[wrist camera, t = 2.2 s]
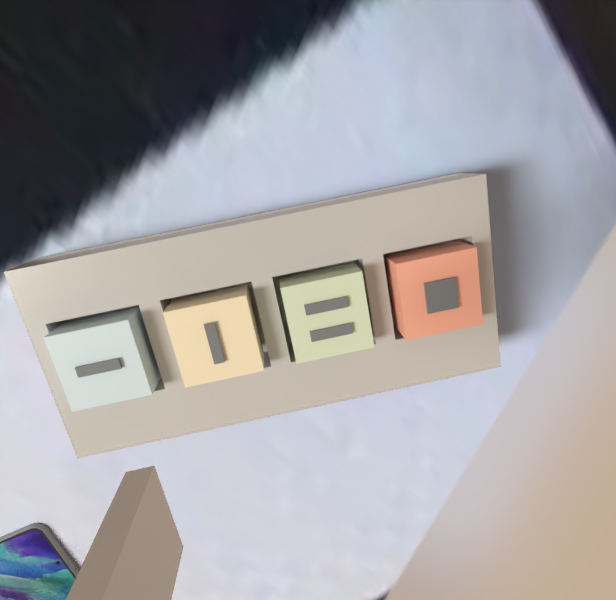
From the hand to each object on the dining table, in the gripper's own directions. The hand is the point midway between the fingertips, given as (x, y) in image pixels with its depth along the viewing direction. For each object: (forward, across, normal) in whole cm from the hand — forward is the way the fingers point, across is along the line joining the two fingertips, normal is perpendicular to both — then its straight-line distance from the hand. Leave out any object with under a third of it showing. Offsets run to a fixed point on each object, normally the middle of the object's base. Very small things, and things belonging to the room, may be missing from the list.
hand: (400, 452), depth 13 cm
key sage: (+16, 0, -1) cm, 16 cm away
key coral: (+16, +6, -1) cm, 17 cm away
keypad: (+19, -4, 0) cm, 19 cm away
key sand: (+16, -7, 0) cm, 17 cm away
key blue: (+16, -13, 0) cm, 21 cm away
